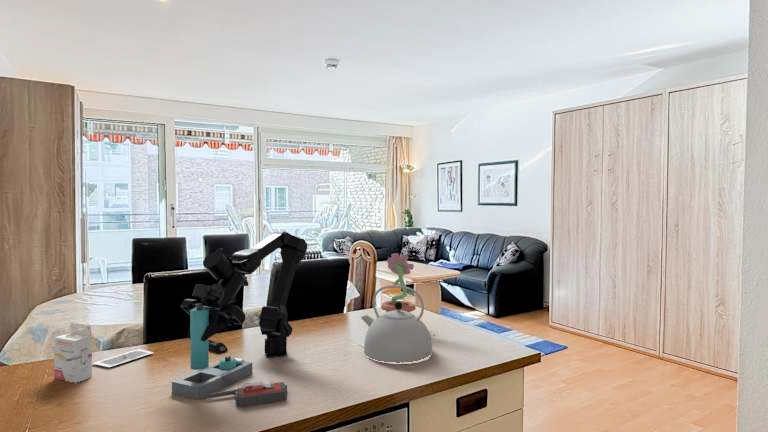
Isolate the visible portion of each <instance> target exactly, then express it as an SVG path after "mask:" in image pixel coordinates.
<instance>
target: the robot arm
mask: <svg viewBox="0 0 768 432" xmlns="http://www.w3.org/2000/svg"><path fill="white" fill-rule="evenodd" d="M277 249H280V252H279V254H280V256H281V260H282V261H281V266H280V269H279V272H278V275H277V280H276V283H275V286H274V290H273V293H272V297H271V300H270V303H269V304H267V306H266V305H265V306H264V305H263V306H262V308H261V310H260V311H261V312H260V314H259V315H258V325H259V330H260V332H261V335H263V336H264V335H265V336H266V338H264V354H265V355H266V357H267V358H271V357H282V356H283V357H284V356H288V351H287V346H288V345H287V343H288V340H287V339H288V338H289V337H290V336H291V335H292V333H293V327H292V325H291V324H290V323H289V322H288V316H289V315H288V310H287V308H286V306H287V303H288V299H289V295H290V292H291V287H292V284H293V281H294V277H295V273H296V269H297V266H298V264H300V262H302V260H303V259H304V258H305V255H306V253H307V251H308V243H307V242H306V240H305V239H304V238H301V237H298V236H295V235H293V234H291V233H290V232H287V231H279V230H276V231H274V232H272V233H271V234H270V235H269V236H267V237H266V238H264V239H263V240H262V241H260V242H259V243H257V244H256V245H254V246H252V247H251V248H246V249H242V250H239V251H236V252H234V253H232V254H231V256H229V255H228V253H227V252H226V250H225V248H217V249H216V251H214V252H213V251H212V252H211V253H210V254H208V255H207V256H205V257H204V259H203V262H202V264H203V265H202V266H204V268H205V269H206V270H207V271H208V272H209V273H210V275H212V277H213V278H214V279H215V280H219V282H218V283H213V284H212V285H207V284H198V283H197V284H195V286H194V288H193V292H192V295H191V296H192V297H197V298H199V299H200V301H199V300H197V299H193V298H192V299H191V298H186V299H183V300H182V302H181V304H180V306H179V307H180V308H181V309H182V310H184V311H185V313H187V314H188V315H189V316H190V310H192V309H195V308H196V304H199V303H200V302H201V303H202V304H204V305H203V308H208V309H209V315H211V319H210V320H209V325H208V326H207V328H206V330H205V332H204V333H203V335H202V338H201V340H202V341H205V340H207V339H208V338H209V339H210V338H211V337H213V336H214V335H216V334H217V333H218V332H220V331H222V330H224V329H225V328H227V327H230V326H232V323H233V324H234V325H240V326H242V325H243V324H244V323H245V321H246V313H245V312H244V311H243V310H242V308H241V307H240V306H238V305H237V304H232V303H236V301H237V298H236V295H237V293H238V292H239V290H240V289H241V287H248V286H249V281H248V277H247V276H245V275H243V273H245V274H252V273H254V272H255V271H257V269H258V268H259V267H260V266H261V265H262V261H263V260H264V259H265V258H267V257H268V256H269V255H271V254H272V253H274V252H275V251H277ZM231 322H232V323H231ZM187 339H189V340H190V327H189V329H188V333H187Z"/></svg>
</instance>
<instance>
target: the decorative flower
mask: <svg viewBox="0 0 768 432" xmlns="http://www.w3.org/2000/svg"><path fill="white" fill-rule="evenodd" d="M390 255H391V257H390V256H388V258H387V259H386V260H387V261H386V262H387V264H388V265H387V268H388V269H389V270H390V271H391V272H392V273H393V274H396V275H398V279H395V281H394V282H393V285H398V284H400V286H406V287H407V285H406V283H405V280H404V275H410V274H411V270H414V268H415V265H414V263H408V261H407V260H408V259H409V257H408V256H407V255H406V254H403V253H401V254H399V253H396V252H394V253H391V254H390ZM401 289H402V293H401V294H399V295H398V294H397V295H394V296H392V295H388V294H386V296H388V297H390V298H391V300H388V301H384V302H382V303H381V305H380V308H381V310H383V311H386V312H389V311H394V310H397V309H396V308H395V303H396V302H401V303H402V305H403V306H402V308H401V309H400V310H402V311H407V312H410V313H411V312H413V311H416V305H415V303H413V302H411V301H405V300H403V299H405V298H406V297H407V295H410V296H412V297H416V294H415V293H413V292H412V291H410V290H408V289H404V288H401ZM386 312H385V313H386Z"/></svg>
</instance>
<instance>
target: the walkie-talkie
mask: <svg viewBox="0 0 768 432" xmlns="http://www.w3.org/2000/svg"><path fill="white" fill-rule="evenodd" d="M232 395H233V396H234V399H235V405H236V406H237V405H239V408H242V409H243V408H247V407H248V408H250V407H255V406H256V407H257V406H260V405H266V404H272V403H280V402H284V401H287V400H288V384H287V385H286V384H285V382H284V381H280V382H279V381H278V382H274V381H272V380H271V381H269V383H264V382H262V381H255V382H248V383H245V384H243V385H240V386H237V388H236V389H235V388H234V389H232V390H227V391H226V390H225V391H219V392H213V393H211V394H206V395H205V397H204V399H213V398H219V397H226V396H232Z"/></svg>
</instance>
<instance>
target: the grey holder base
mask: <svg viewBox="0 0 768 432" xmlns="http://www.w3.org/2000/svg"><path fill="white" fill-rule="evenodd" d="M251 374H253V362H250V361H246V360H245V359H244V358H240V357H235V358H234V357H231V355H226V356H224V358H222V359H221V358H220V360H219V361H218V362H216V363H212V364H210V365H209V366H208V367H207V368H205V369H200V370H196V371H194V372H191V373H190V374H187V375H184V376H182V377H179V378H177V379H175V380H173V381H171V394H173V395H178V396H181V397H186V398H191V399H194V400H201V399H202V398H205V395H206V394H211V393H216V392H217V391H219V390H220V389H223V388H225V387H227V386H229V385H231V384H233V383H235V382H237V381H239V380H241V379H243V378H245V377H247V376H249V375H251Z"/></svg>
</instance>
